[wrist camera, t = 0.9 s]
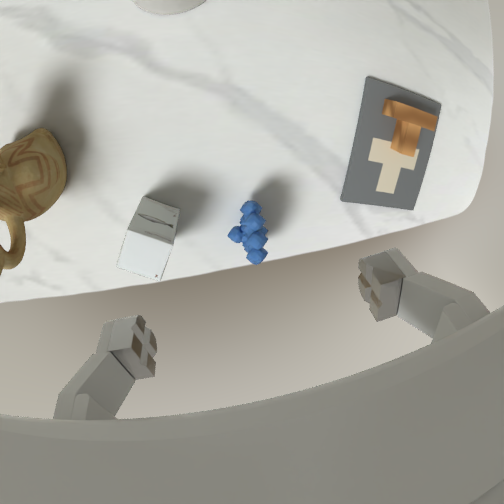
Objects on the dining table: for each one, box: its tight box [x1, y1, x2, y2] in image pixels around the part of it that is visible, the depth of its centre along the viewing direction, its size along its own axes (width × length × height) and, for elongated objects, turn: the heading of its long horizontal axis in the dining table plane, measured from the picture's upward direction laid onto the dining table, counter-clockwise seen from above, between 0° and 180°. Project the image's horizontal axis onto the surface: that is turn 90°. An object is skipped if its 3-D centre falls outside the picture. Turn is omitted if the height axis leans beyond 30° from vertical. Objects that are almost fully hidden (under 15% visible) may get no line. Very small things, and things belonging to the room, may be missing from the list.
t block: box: [382, 99, 438, 157], centre depth 46 cm, size 9×10×4 cm
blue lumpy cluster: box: [228, 201, 268, 265], centre depth 50 cm, size 12×7×12 cm, turn 4°
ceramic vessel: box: [0, 128, 67, 275], centre depth 33 cm, size 17×20×25 cm
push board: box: [340, 77, 441, 210], centre depth 50 cm, size 24×18×1 cm
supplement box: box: [116, 196, 180, 281], centre depth 47 cm, size 7×7×13 cm
